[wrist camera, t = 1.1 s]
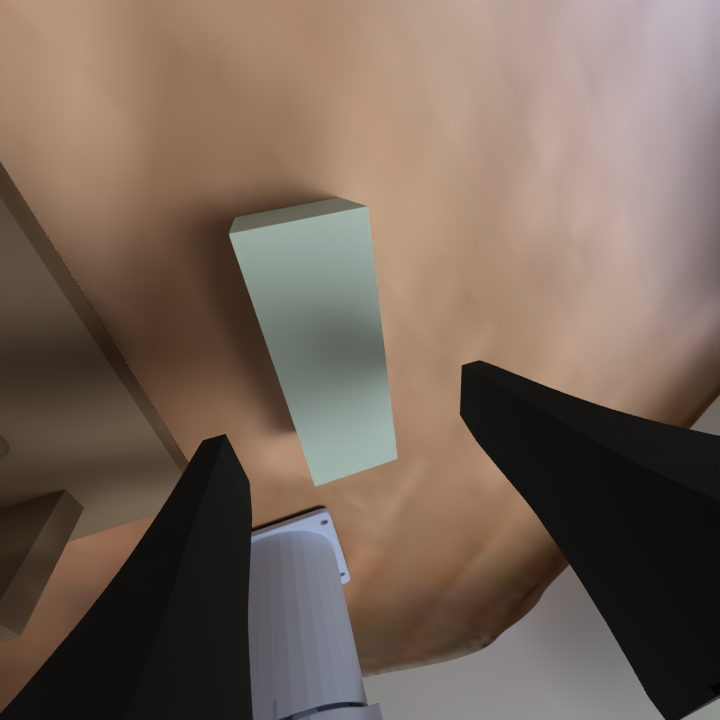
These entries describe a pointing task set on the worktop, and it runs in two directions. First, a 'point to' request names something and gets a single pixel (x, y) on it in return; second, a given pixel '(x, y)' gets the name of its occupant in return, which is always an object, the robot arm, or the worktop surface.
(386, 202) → the worktop surface
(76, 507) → the peg base
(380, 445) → the pale green block
